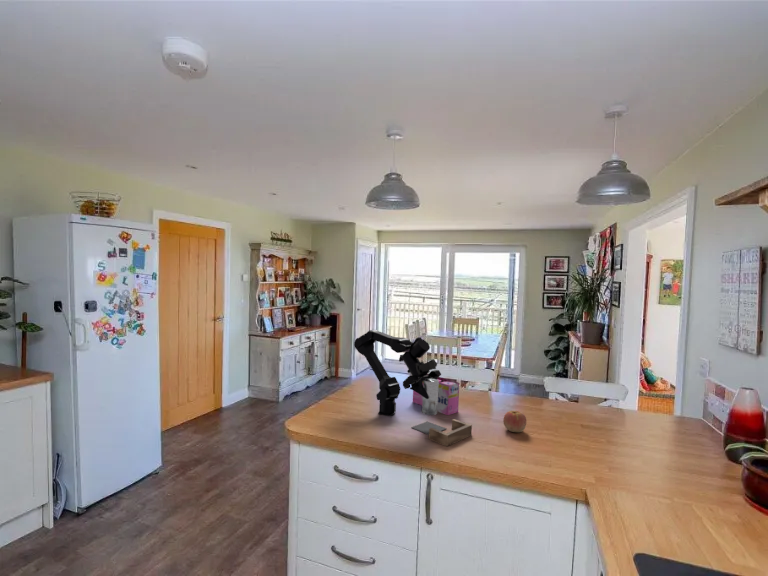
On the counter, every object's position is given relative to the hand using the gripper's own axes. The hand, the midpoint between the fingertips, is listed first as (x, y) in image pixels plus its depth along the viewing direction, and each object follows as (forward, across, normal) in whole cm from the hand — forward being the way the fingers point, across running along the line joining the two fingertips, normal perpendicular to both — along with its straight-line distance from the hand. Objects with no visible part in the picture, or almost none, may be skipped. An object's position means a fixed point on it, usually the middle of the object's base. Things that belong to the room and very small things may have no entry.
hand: (433, 397), depth 160 cm
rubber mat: (+8, 0, +10) cm, 13 cm away
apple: (+25, +25, -7) cm, 36 cm away
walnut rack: (+16, 0, +2) cm, 16 cm away
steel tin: (+4, 0, +6) cm, 7 cm away
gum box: (-2, +24, +22) cm, 32 cm away
